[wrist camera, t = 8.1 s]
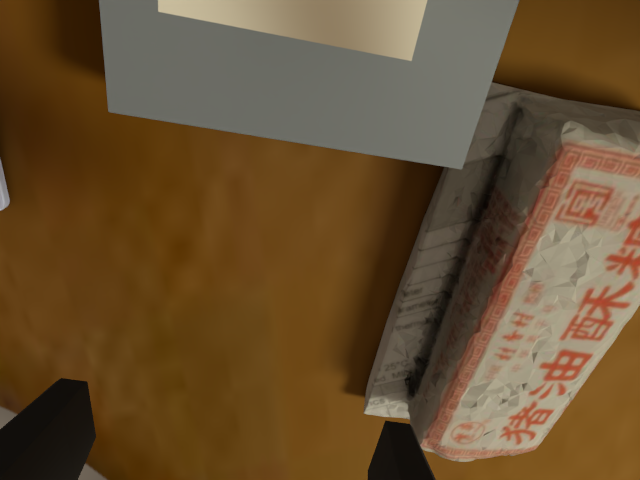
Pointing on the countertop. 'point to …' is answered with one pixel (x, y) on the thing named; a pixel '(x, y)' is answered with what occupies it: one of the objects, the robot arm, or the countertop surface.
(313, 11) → the birch block
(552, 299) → the packaged product
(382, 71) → the gray plinth
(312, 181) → the countertop surface
